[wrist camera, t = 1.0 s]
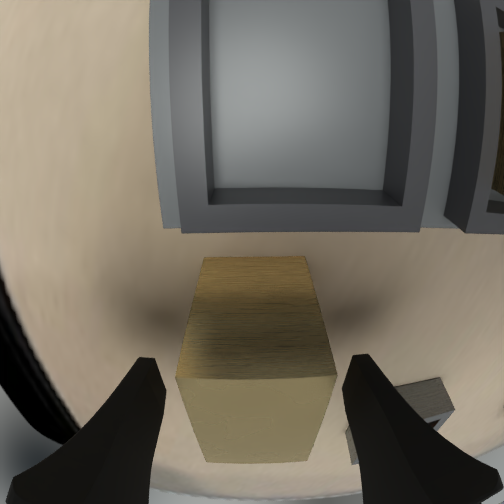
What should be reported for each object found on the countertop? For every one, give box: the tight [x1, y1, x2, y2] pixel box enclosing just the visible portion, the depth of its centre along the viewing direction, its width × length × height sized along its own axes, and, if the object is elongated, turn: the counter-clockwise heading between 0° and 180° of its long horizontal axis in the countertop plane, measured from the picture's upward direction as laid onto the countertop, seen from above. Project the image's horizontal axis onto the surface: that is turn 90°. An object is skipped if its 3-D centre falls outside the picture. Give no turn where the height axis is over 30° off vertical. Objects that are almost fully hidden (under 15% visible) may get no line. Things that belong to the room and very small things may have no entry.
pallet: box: [149, 0, 504, 234], centre depth 7 cm, size 18×10×3 cm, turn 91°
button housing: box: [346, 378, 455, 465], centre depth 17 cm, size 6×6×3 cm
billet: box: [175, 256, 337, 464], centre depth 11 cm, size 4×6×6 cm, turn 1°
